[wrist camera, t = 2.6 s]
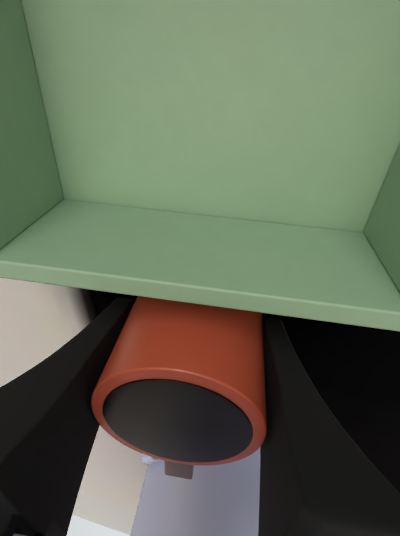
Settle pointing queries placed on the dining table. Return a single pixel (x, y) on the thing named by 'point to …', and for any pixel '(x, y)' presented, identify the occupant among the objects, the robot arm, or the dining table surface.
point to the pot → (185, 384)
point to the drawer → (205, 152)
